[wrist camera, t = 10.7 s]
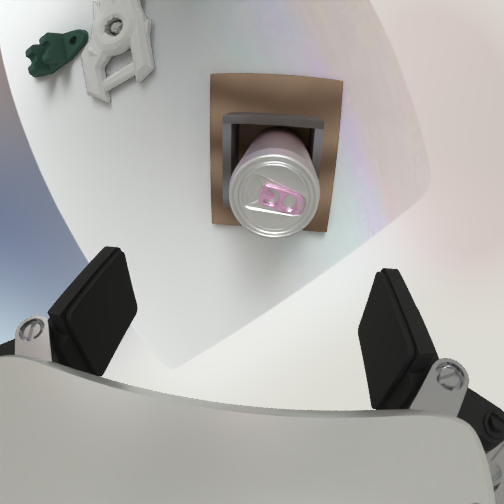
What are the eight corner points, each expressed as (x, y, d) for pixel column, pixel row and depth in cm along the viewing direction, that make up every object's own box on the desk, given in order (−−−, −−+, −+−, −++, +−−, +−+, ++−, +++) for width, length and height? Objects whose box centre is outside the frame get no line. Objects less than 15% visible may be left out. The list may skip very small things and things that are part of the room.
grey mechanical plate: (68, -9, 19) (137, -43, 17) (83, -6, 22) (148, -35, 20) (85, 109, 28) (155, 85, 27) (100, 105, 31) (166, 84, 30)
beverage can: (296, 184, 33) (302, 252, 20) (245, 168, 32) (216, 226, 19) (313, 135, 29) (336, 170, 17) (260, 118, 29) (239, 139, 16)
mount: (86, 22, 24) (63, 18, 20) (91, 47, 26) (68, 45, 22) (34, 60, 26) (11, 62, 22) (38, 84, 29) (15, 88, 24)
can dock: (213, 74, 28) (197, 71, 23) (341, 81, 27) (353, 78, 22) (214, 219, 37) (202, 243, 32) (325, 227, 36) (331, 253, 31)
